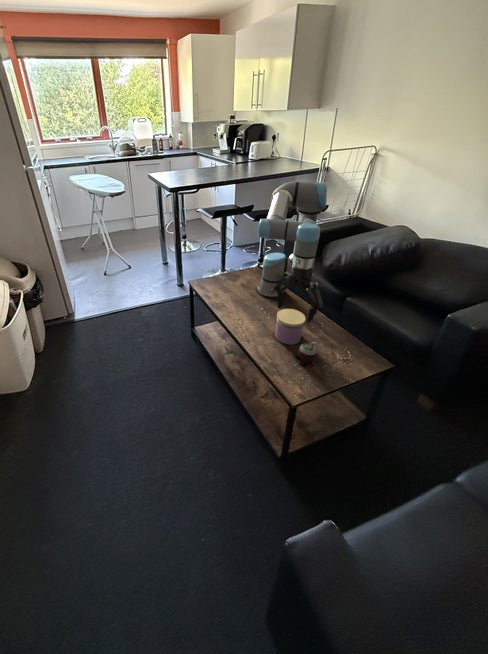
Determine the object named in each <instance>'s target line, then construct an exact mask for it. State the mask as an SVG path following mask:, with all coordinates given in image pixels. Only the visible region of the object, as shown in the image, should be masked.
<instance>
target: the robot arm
mask: <svg viewBox="0 0 488 654" xmlns="http://www.w3.org/2000/svg"><path fill="white" fill-rule="evenodd" d="M327 195H328V186H327V184H326V182H318V181H288V182H284V183H283V184H281V185H279V186H278V187H277V188H275V190H274V191H273V192H272V194H271V196H270V207H269V211H268V212H267V213H268V214H267V216H266V218H260V219H259V223H258V227H257V236H258V237H259V238H260V239H267V240H279V241H280V240H281V241H289V242H290V241H291V242H294V244H293V245H294V246H293V253H291V254H290V255H289V257H287V256H286V254H285V253H282V252H271V253H268V254H266V255H265V256H264V258H263V261H262V271H261V272H262V273H261V280H260V281H259V283H258V286H257V293H258V294H259V295H260V296H262V297H265V298H270V299H273V298H276V299H277V309H282V308H283V306H284V299H285V291H286V290H287V289H289V288H291V287H292V286H293V288H295V289H297V290H300V291H302V292H303V293H304V294H305V296H306V298H307V301H308V302H309V304H310V305H311V306H310V307H309V311H308V312H309V313H308V316H307V323H311V322H312V321H313V320H314V316H315V315H317V313H318V310H320V309H322V308H323V307H324V302H323V298H322V295H321V291H320V283H319V281H316V282H315V281H312V277H313V271H314V267H315V263H316V262H315V261H316V256H317V250H318V247H319V246H318V245H319V241H320V237H321V227H320V225H317V220H318V217H319V215H321V213H322V212H323V210H325V209H327ZM290 207H292V208H296V212H297V213H298V219H297V220H287V216H288V215H287V214H288V211H289V208H290ZM287 280H290V282H289V283H287V284H286V285H284V283H285V282H286V281H287Z"/></svg>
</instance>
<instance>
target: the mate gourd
mask: <svg viewBox="0 0 488 654" xmlns="http://www.w3.org/2000/svg"><path fill="white" fill-rule="evenodd" d="M314 344H317V342H316V341H312V342H311V343H308V342H305V343H302V344H301V345H300V346H299V347H298V352H297V353H298V359H299V360H301V364H300V365H301V366H304V365H306V364H308V365H310V366H313V365H314V364H313V363H314V362H315V359H316V357H317V348H316V347H315V345H314Z"/></svg>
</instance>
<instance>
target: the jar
mask: <svg viewBox="0 0 488 654" xmlns="http://www.w3.org/2000/svg"><path fill="white" fill-rule="evenodd" d="M305 323H306V316H305V314H304V313H303V312H301V311H299V310H297V309H294V308H283V309H280V310H278V312H277V314H276V323H275V330H274V331H275V332H274V337H275V339H276V340H277V341H278V342H279V343H282V344H285V345H296V344H299V343H300V342H301V340H302V336H303V331H304V326H305Z"/></svg>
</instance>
